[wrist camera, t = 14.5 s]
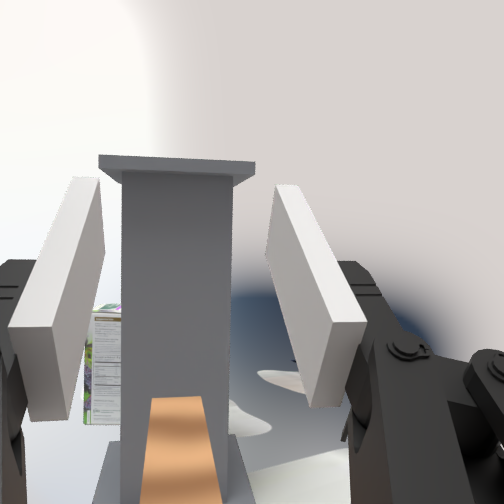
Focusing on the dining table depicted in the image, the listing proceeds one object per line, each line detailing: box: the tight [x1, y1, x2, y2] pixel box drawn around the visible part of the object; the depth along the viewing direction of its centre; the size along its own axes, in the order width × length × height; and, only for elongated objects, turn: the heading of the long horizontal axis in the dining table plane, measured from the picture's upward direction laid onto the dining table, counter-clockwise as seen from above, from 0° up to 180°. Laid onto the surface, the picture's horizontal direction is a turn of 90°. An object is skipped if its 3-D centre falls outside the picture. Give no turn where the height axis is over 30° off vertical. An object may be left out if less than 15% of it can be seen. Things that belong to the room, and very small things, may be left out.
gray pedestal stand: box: [92, 155, 256, 504], centre depth 44 cm, size 16×14×30 cm
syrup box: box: [83, 303, 121, 425], centre depth 60 cm, size 6×6×14 cm
